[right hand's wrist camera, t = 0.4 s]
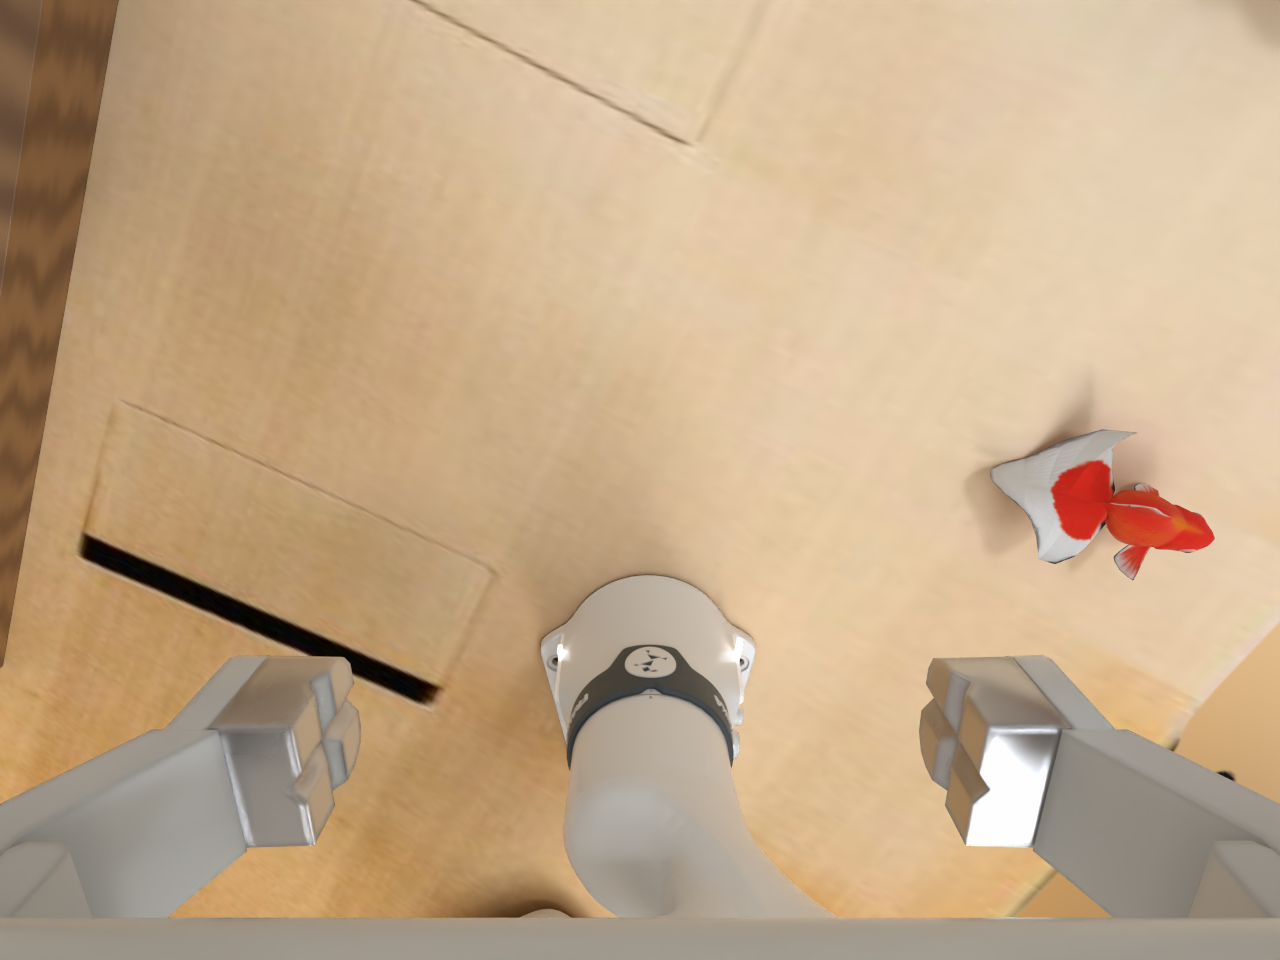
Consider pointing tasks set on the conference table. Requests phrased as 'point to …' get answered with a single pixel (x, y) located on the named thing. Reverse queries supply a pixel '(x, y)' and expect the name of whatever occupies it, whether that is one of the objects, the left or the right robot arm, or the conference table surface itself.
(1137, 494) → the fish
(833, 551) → the conference table surface
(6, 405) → the beam
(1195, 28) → the conference table surface
